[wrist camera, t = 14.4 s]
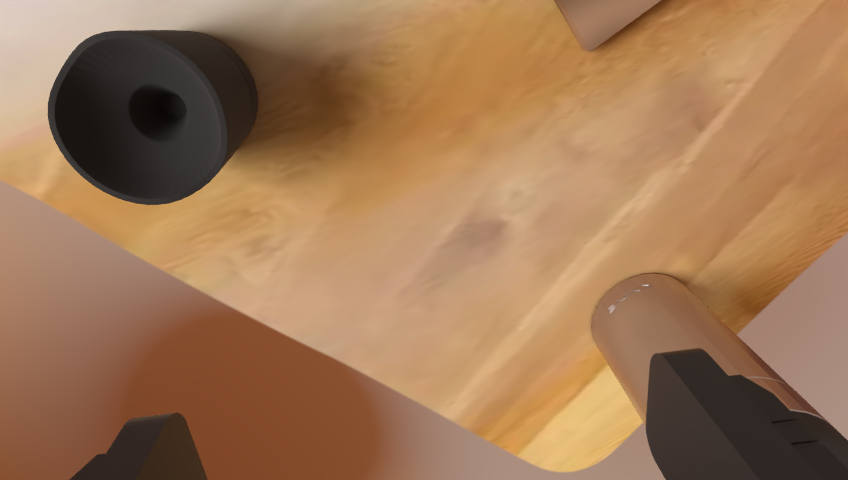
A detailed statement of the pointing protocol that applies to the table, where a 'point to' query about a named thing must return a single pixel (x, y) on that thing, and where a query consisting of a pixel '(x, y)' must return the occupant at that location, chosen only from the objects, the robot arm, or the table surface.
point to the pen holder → (151, 112)
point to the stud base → (600, 18)
